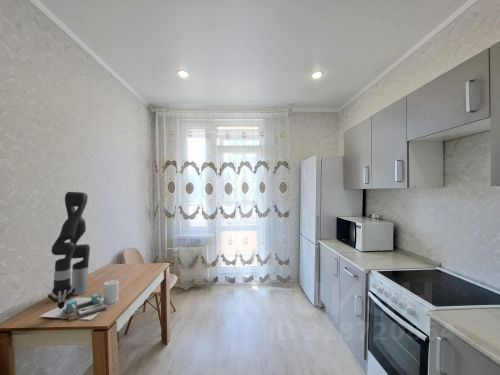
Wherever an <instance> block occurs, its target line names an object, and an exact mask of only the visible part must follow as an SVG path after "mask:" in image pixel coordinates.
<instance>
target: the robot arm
mask: <svg viewBox="0 0 500 375" xmlns="http://www.w3.org/2000/svg"><path fill="white" fill-rule="evenodd" d="M64 203H65V204H64V205H65V209H66V214H67V219H66V220H65V221H64V222H63V224H62V225H61V226H62V227H61V230H60V234H59V235H58V237H57V239H55V241H54V243H53V244H52V246H51V253H52V255H53V256H64V257H63V258H59V259H57V260H55V262H54V274H53V288H52V290H51V292H50V293H48V294H47V295H46V296H47V297H48V298H49V299H50V300H51V301H52V302H54V303H57V308H58V309H59V310H61V309H62V310H63V308H64V307H65V306H66V303H65V302H66V301H69V299H70V298H71V297H72V295H73V296H75V295H76V296H77V295H83V294H85V293H87V292H88V286H89V265H90V264H89V262H90V261H89V260H90V251H91V250H90V249H91V248H90V247H91V246H90V244H85V243H84V244H77V243H78V242H79V240H80V239H81V238H82V236H83V235H84V234H85V233H86V230H87V227H86V226H87V225H86V220H85V218H84V217H83V216H82V215H83V213H84V211H85V209H86V206H87V203H88V194H87V192H81V191H68V192H66V193H65V196H64ZM76 207H77V209H76ZM67 241H68V242H67ZM72 259H82V260H80V261H78V262H75V263H73V264H72ZM71 264H72V267H71ZM71 268H72V271H71ZM54 295H55V296H56V297H57V298H55V297H54Z"/></svg>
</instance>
